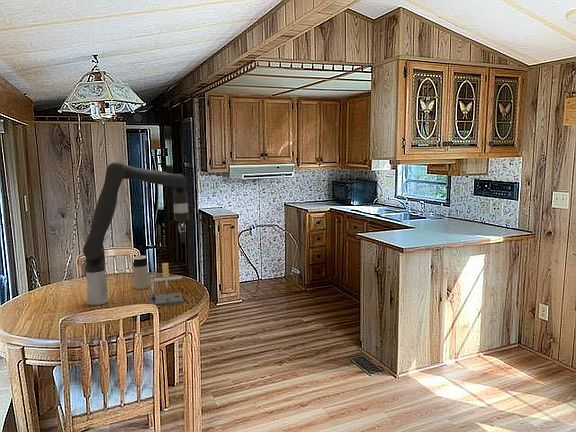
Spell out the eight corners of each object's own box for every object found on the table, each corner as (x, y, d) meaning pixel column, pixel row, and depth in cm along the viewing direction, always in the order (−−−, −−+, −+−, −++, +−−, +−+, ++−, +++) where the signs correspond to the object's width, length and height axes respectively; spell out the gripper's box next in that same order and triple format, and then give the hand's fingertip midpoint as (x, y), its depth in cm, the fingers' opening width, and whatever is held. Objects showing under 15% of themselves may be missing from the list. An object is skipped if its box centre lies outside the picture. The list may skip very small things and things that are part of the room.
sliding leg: (164, 298, 231) (162, 265, 228) (164, 296, 235) (162, 263, 232) (170, 297, 232) (168, 264, 229) (170, 295, 236) (168, 262, 233)
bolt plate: (148, 307, 224) (146, 279, 222) (149, 298, 238) (147, 272, 236) (183, 303, 229) (182, 276, 227) (182, 295, 242) (181, 269, 240)
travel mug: (141, 290, 253) (138, 259, 250) (131, 288, 257) (129, 257, 255) (152, 286, 260) (149, 256, 257) (142, 284, 264) (140, 254, 261)
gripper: (173, 210, 245) (175, 239, 247) (174, 213, 231) (176, 244, 234) (187, 209, 247) (189, 238, 249) (189, 212, 233) (190, 243, 236)
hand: (182, 241), depth 242 cm, fingers open, 8 cm apart
